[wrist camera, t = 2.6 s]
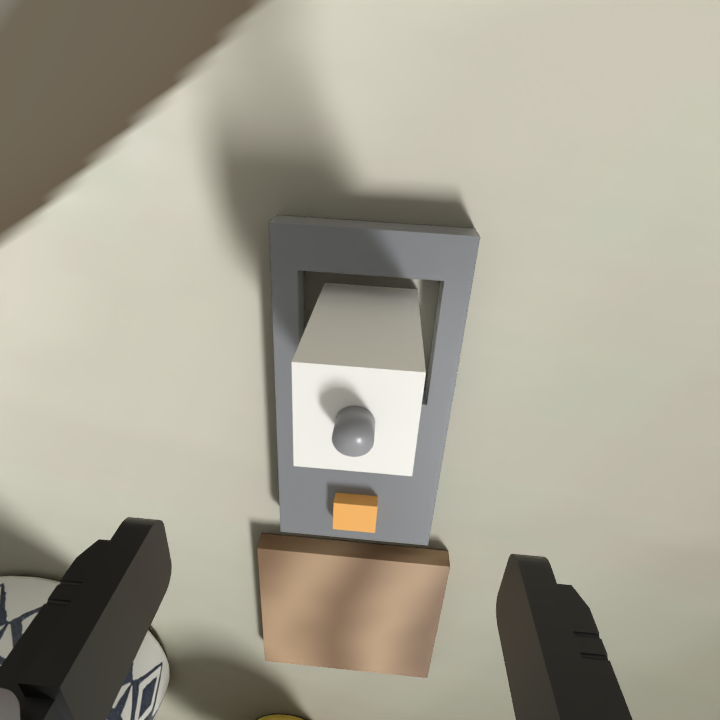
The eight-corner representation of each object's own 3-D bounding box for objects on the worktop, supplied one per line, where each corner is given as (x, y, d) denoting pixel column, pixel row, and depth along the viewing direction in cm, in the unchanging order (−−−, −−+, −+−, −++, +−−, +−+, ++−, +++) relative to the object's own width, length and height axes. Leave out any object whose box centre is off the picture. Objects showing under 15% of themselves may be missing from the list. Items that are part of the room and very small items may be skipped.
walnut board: (448, 550, 30) (450, 566, 29) (426, 661, 36) (427, 677, 35) (261, 533, 31) (257, 548, 30) (269, 644, 37) (265, 660, 36)
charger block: (417, 289, 23) (427, 388, 15) (408, 370, 25) (412, 495, 17) (324, 282, 23) (285, 377, 15) (323, 363, 25) (288, 484, 17)
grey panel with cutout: (474, 228, 21) (483, 241, 19) (426, 525, 30) (428, 556, 28) (276, 214, 21) (264, 226, 19) (285, 512, 30) (277, 542, 28)
